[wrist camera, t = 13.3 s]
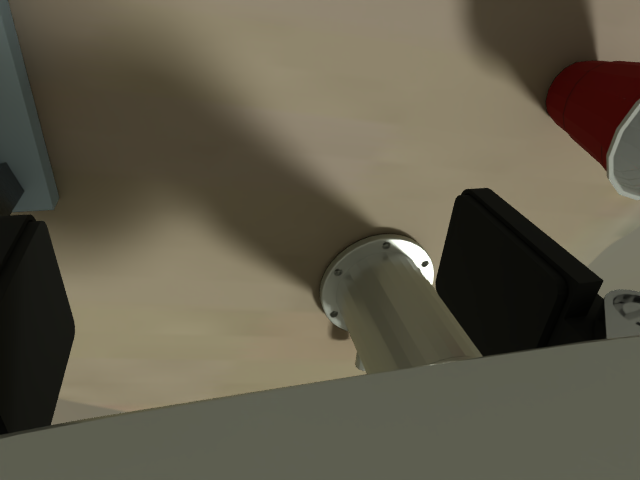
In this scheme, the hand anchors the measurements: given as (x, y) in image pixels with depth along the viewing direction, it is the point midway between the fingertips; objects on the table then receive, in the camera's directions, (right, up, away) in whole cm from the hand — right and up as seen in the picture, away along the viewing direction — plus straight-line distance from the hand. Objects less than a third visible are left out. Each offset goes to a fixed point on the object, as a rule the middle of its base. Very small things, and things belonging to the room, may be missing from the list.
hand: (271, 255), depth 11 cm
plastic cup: (+25, +14, +33) cm, 44 cm away
